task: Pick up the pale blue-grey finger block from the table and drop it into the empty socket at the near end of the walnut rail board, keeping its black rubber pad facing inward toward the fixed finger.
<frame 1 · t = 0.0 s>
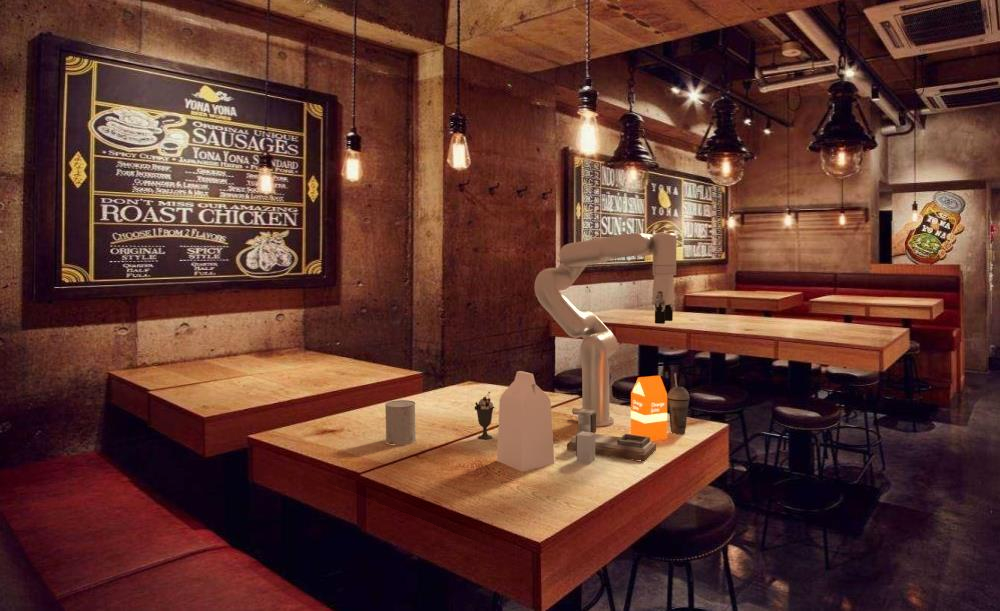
hand: (663, 322, 211), 37 cm above the table, tool pointing down, fingers open, 9 cm apart
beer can: (401, 441, 204), on the table
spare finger: (586, 461, 183), on the table
milk: (525, 462, 182), on the table
beverage cup: (678, 433, 211), on the table
sundae: (485, 438, 208), on the table
rail board: (611, 450, 193), on the table
orange juice: (648, 438, 206), on the table
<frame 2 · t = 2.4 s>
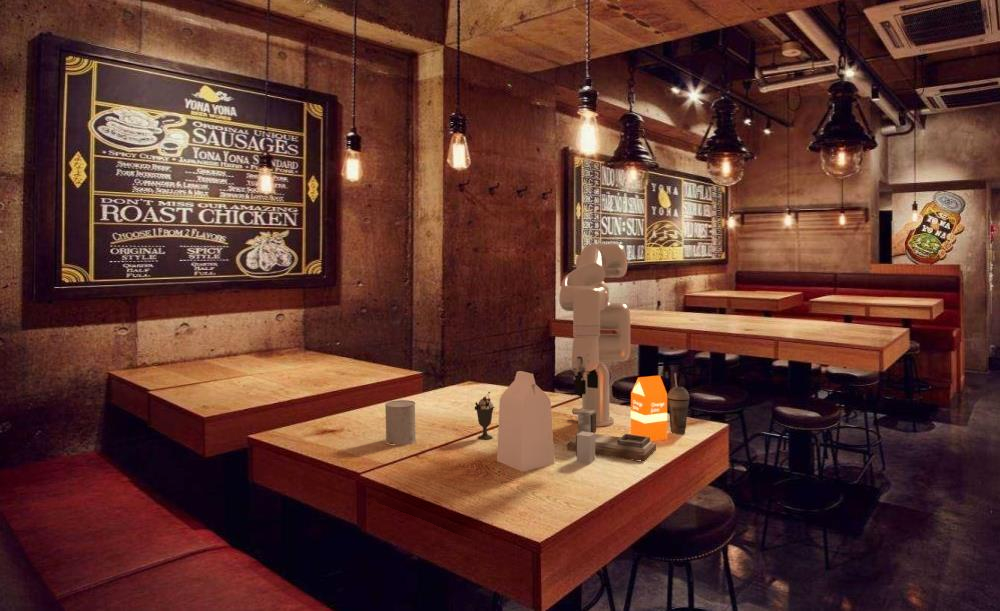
hand: (586, 390, 181), 20 cm above the table, tool pointing down, fingers open, 9 cm apart
nothing on the table moved.
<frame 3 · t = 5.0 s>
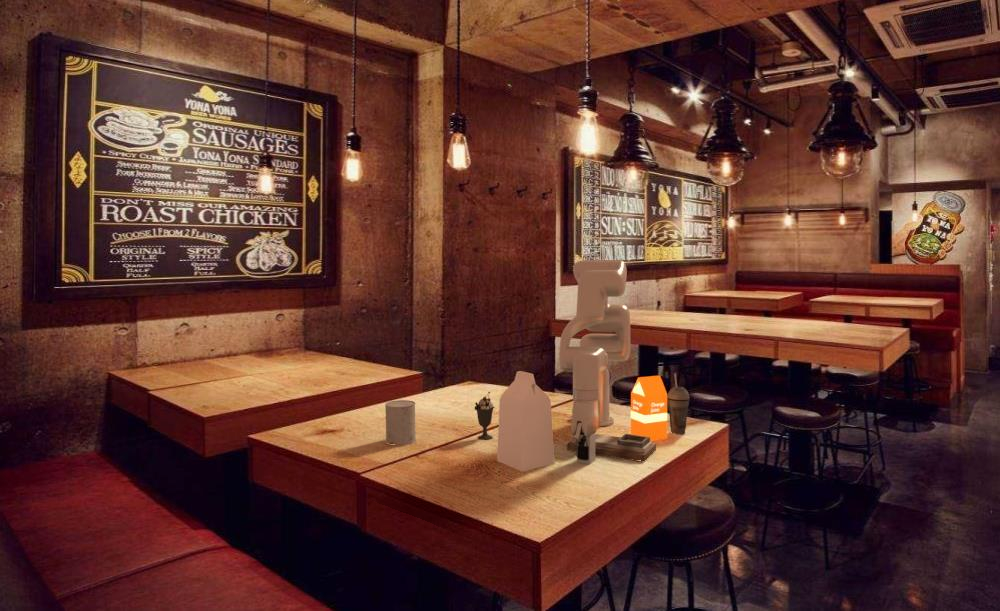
hand: (586, 456, 183), 1 cm above the table, tool pointing down, fingers closed on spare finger, 3 cm apart
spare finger: (586, 460, 183), on the table, touching gripper
everything else where it was.
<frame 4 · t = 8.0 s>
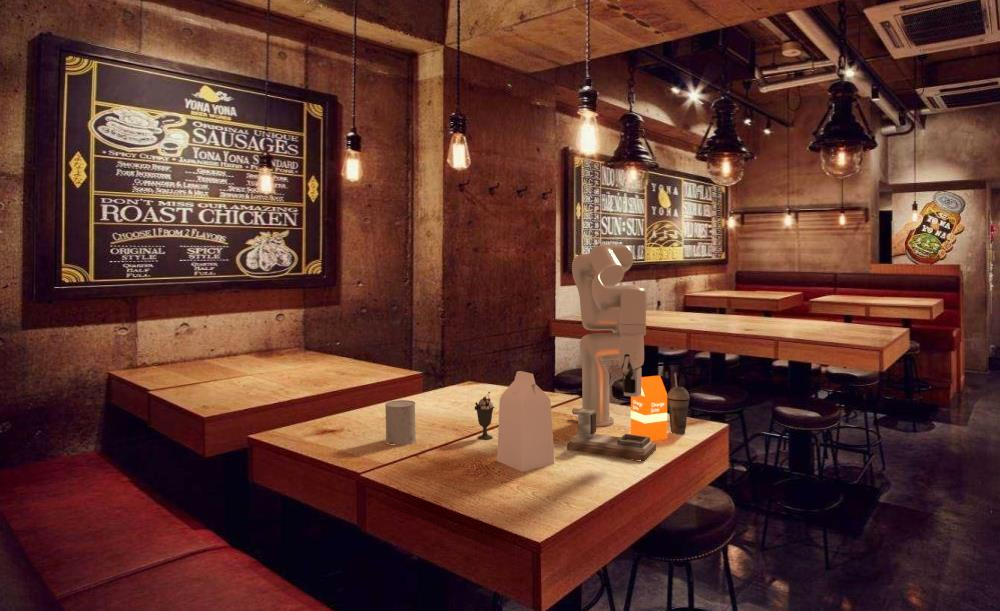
hand: (632, 390, 188), 19 cm above the table, tool pointing down, fingers closed on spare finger, 4 cm apart
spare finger: (632, 395, 188), point 18 cm above the table, touching gripper
everything else where it was.
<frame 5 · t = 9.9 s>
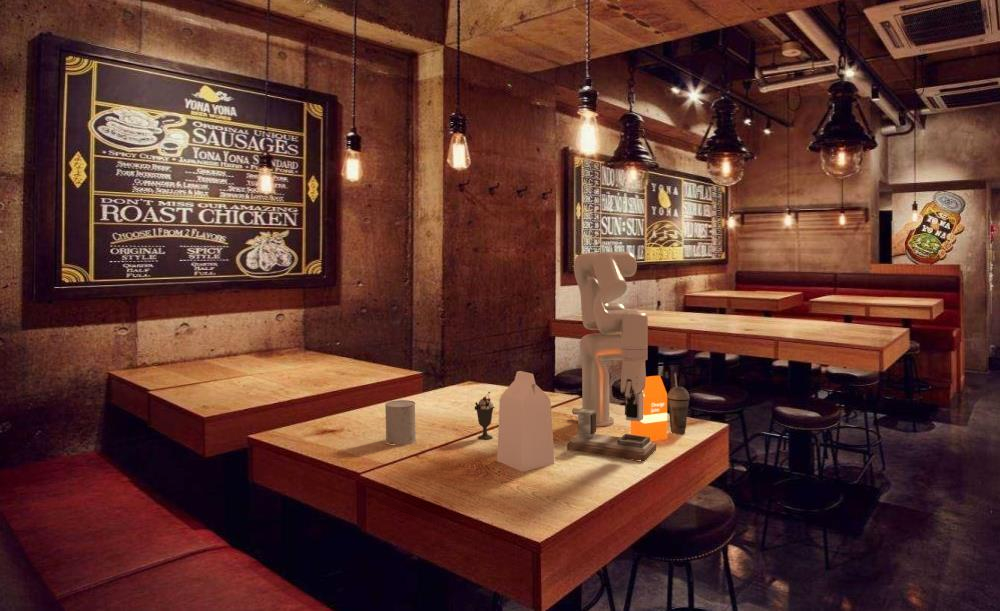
hand: (634, 414, 188), 12 cm above the table, tool pointing down, fingers closed on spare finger, 4 cm apart
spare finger: (634, 419, 188), point 10 cm above the table, touching gripper
everything else where it was.
when the fingers open (6 cm above the table, at t = 11.5 s): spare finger drops 2 cm, resting on rail board.
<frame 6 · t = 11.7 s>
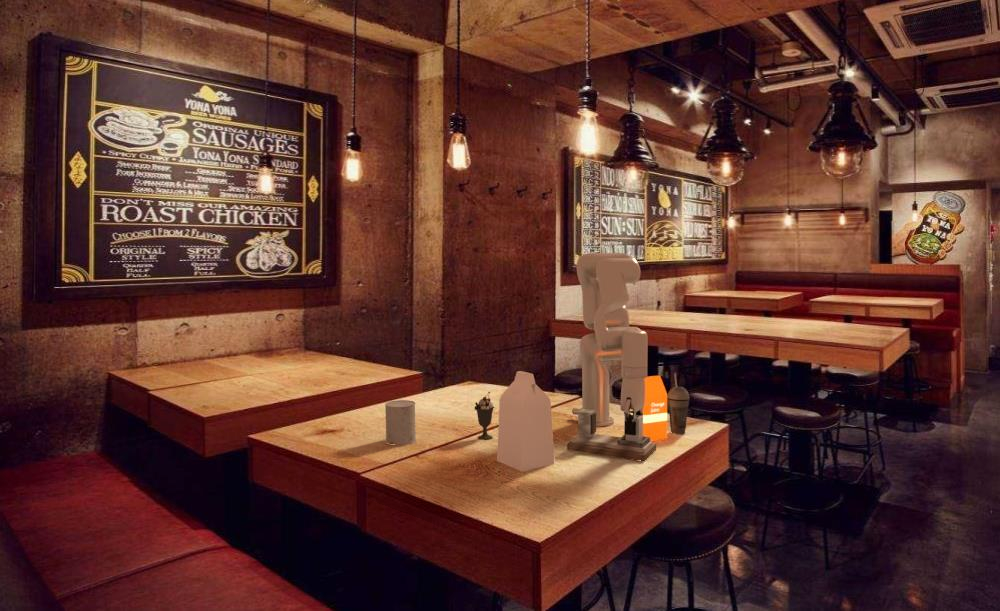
hand: (633, 431, 189), 7 cm above the table, tool pointing down, fingers open, 6 cm apart
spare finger: (634, 443, 189), point 3 cm above the table, touching rail board
everything else where it was.
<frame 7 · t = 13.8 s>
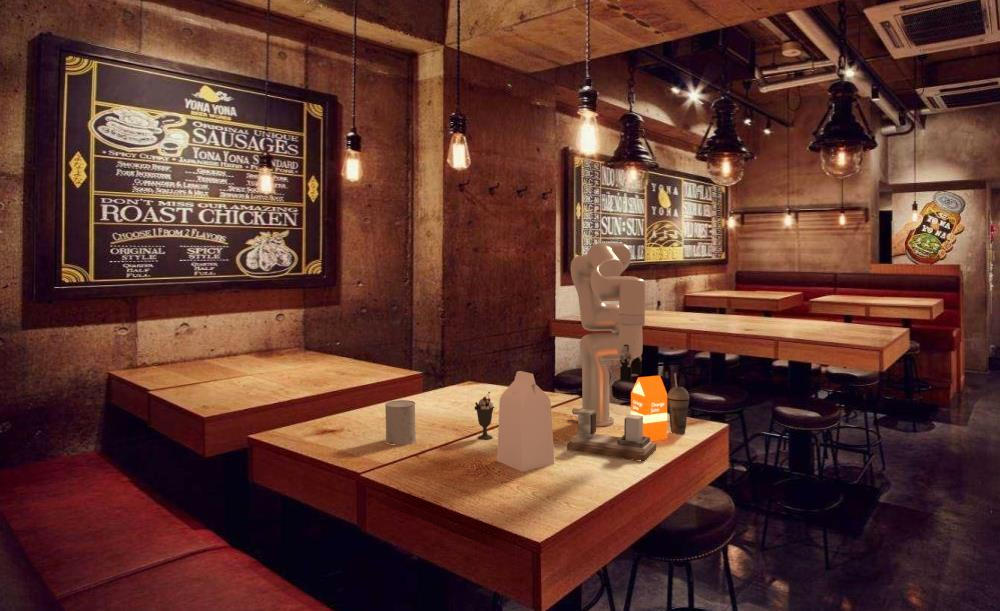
hand: (630, 377, 189), 23 cm above the table, tool pointing down, fingers open, 9 cm apart
nothing on the table moved.
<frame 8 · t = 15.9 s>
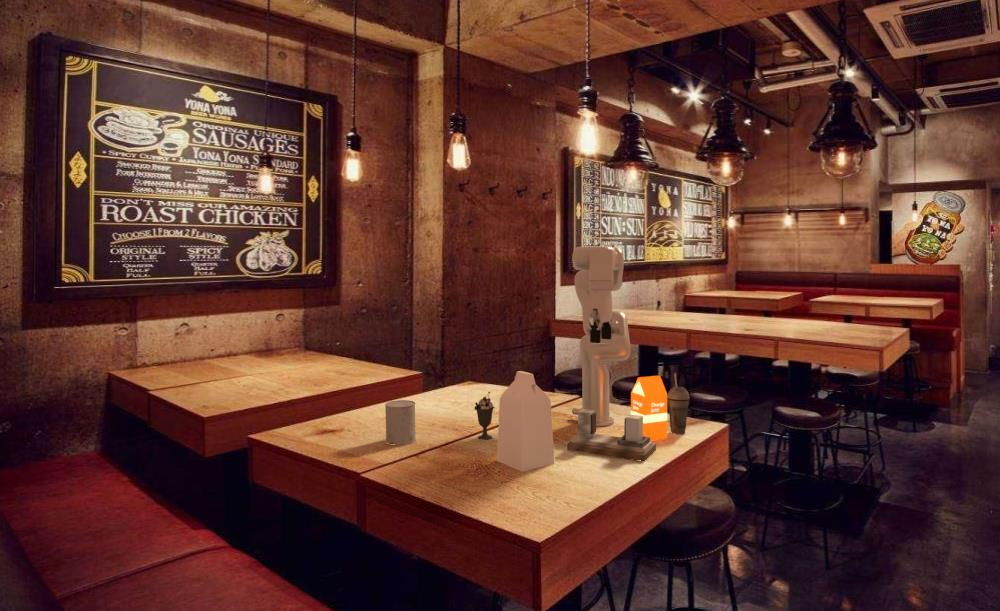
hand: (600, 340, 199), 32 cm above the table, tool pointing down, fingers open, 9 cm apart
nothing on the table moved.
at the end: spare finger 0.1 cm from the target spot on the rail board, point 3.2 cm above the rail board's base; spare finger tilted 0°; the gripper is holding nothing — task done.
